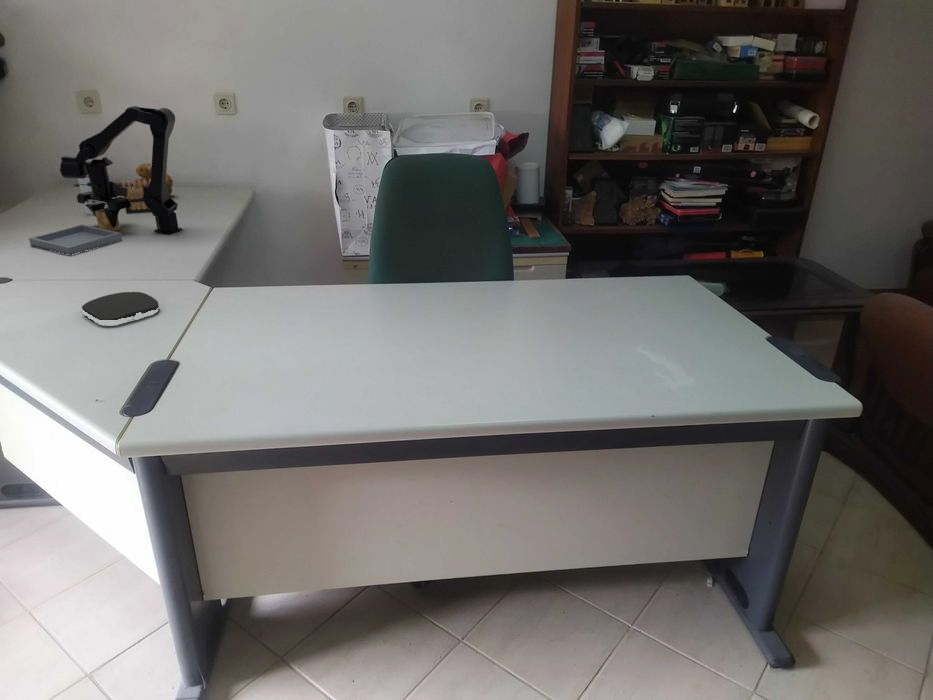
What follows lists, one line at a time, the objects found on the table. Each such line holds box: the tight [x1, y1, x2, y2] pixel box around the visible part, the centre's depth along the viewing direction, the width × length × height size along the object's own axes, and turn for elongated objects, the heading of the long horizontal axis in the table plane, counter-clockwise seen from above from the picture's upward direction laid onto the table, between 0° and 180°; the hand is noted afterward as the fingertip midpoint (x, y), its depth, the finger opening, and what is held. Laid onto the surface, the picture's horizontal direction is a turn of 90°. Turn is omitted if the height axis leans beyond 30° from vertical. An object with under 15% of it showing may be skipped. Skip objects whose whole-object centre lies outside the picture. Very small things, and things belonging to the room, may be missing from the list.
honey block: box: [95, 209, 121, 232], centre depth 219 cm, size 4×4×6 cm
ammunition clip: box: [121, 178, 152, 215], centre depth 238 cm, size 11×2×12 cm, turn 113°
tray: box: [28, 224, 123, 256], centre depth 206 cm, size 18×18×2 cm
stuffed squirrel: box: [134, 162, 174, 196], centre depth 257 cm, size 10×14×13 cm
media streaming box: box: [81, 291, 160, 320], centre depth 161 cm, size 15×15×3 cm
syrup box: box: [77, 175, 108, 216], centre depth 235 cm, size 6×6×14 cm
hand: (109, 226), depth 220 cm, fingers closed on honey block, 4 cm apart
